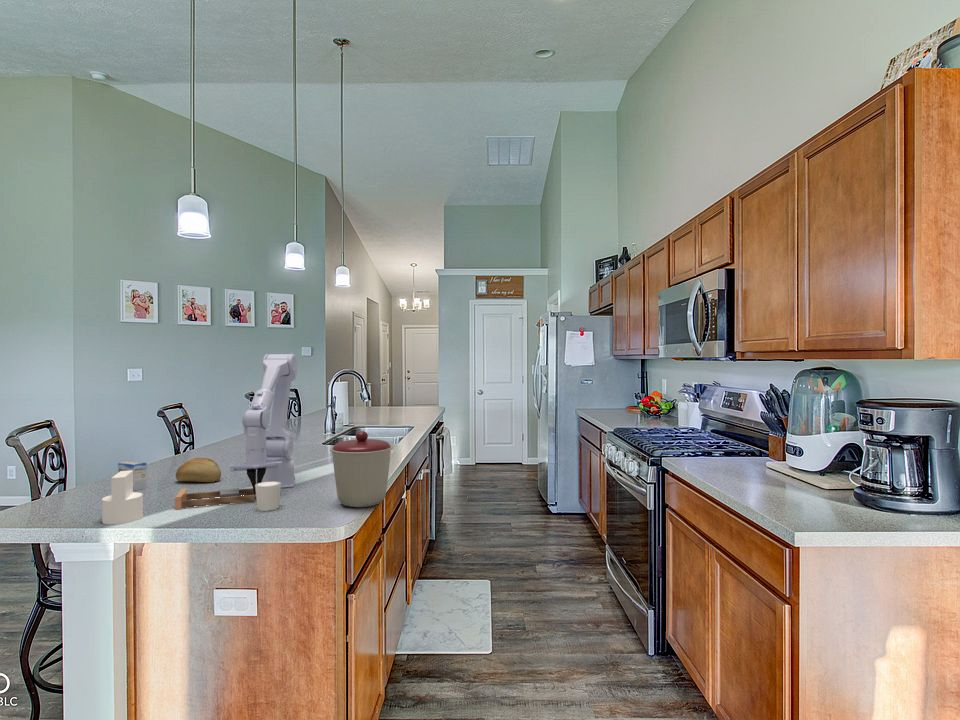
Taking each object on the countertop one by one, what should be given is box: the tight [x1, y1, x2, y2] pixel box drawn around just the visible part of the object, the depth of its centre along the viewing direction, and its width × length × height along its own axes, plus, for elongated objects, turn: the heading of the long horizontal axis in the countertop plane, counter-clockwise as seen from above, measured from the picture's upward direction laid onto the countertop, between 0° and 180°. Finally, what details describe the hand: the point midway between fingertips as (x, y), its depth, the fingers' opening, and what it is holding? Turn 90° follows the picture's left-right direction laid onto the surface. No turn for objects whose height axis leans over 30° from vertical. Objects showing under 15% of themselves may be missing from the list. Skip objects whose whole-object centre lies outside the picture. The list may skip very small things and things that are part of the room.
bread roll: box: [175, 457, 222, 483], centre depth 186 cm, size 10×15×8 cm, turn 91°
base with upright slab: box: [101, 470, 144, 525], centre depth 143 cm, size 9×9×12 cm
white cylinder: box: [255, 481, 281, 512], centre depth 153 cm, size 7×7×7 cm
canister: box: [329, 430, 394, 508], centre depth 158 cm, size 18×18×21 cm
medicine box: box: [117, 460, 148, 492], centre depth 176 cm, size 8×4×9 cm, turn 68°
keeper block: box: [219, 487, 240, 498], centre depth 161 cm, size 5×6×3 cm
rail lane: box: [174, 487, 256, 510], centre depth 160 cm, size 20×11×4 cm, turn 110°
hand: (256, 493), depth 164 cm, fingers closed
